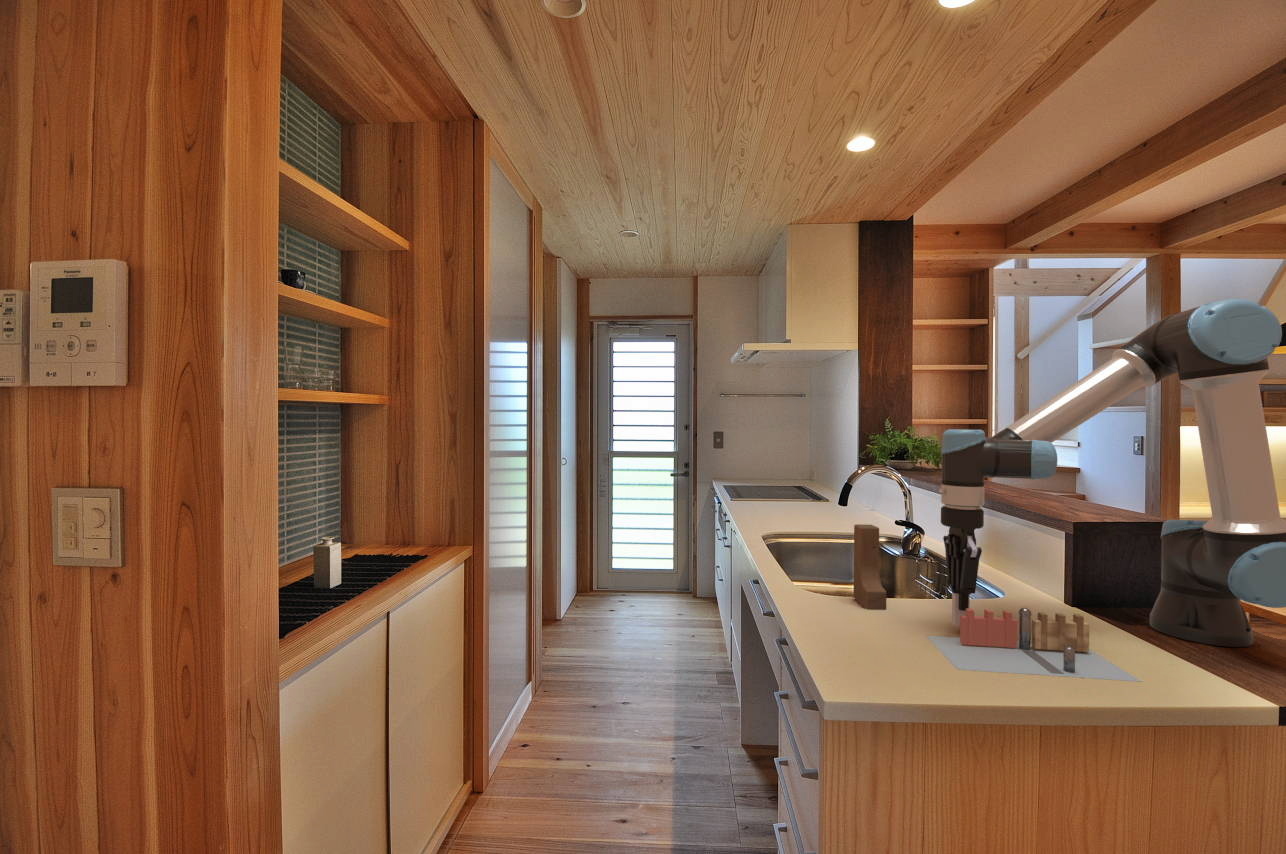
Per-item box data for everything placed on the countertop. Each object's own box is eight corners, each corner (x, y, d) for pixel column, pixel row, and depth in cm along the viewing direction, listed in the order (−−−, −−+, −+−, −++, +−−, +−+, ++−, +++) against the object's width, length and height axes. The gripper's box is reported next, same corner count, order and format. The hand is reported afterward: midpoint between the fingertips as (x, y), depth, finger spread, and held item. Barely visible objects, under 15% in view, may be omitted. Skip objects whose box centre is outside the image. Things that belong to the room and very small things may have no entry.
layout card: (1082, 646, 110) (1082, 644, 110) (1142, 684, 94) (1142, 681, 94) (925, 637, 114) (925, 635, 114) (957, 671, 98) (957, 669, 98)
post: (1027, 647, 108) (1028, 606, 108) (1033, 651, 107) (1033, 609, 107) (1016, 646, 109) (1016, 605, 109) (1021, 650, 107) (1021, 609, 107)
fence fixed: (1084, 649, 107) (1085, 614, 107) (1089, 652, 105) (1089, 617, 105) (1031, 646, 108) (1031, 611, 108) (1035, 649, 107) (1035, 614, 107)
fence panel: (1014, 645, 109) (1014, 610, 109) (1017, 648, 107) (1018, 613, 107) (959, 641, 110) (960, 608, 110) (962, 644, 109) (963, 610, 109)
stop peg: (1071, 669, 99) (1071, 645, 99) (1077, 673, 97) (1077, 649, 97) (1061, 668, 99) (1061, 645, 99) (1066, 672, 97) (1067, 648, 97)
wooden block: (887, 611, 130) (887, 531, 130) (866, 611, 130) (867, 530, 130) (871, 599, 139) (872, 524, 139) (852, 599, 139) (853, 524, 139)
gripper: (930, 501, 123) (929, 613, 123) (954, 510, 110) (952, 635, 110) (968, 502, 122) (967, 615, 122) (997, 511, 109) (995, 637, 109)
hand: (960, 624), depth 116 cm, fingers closed
